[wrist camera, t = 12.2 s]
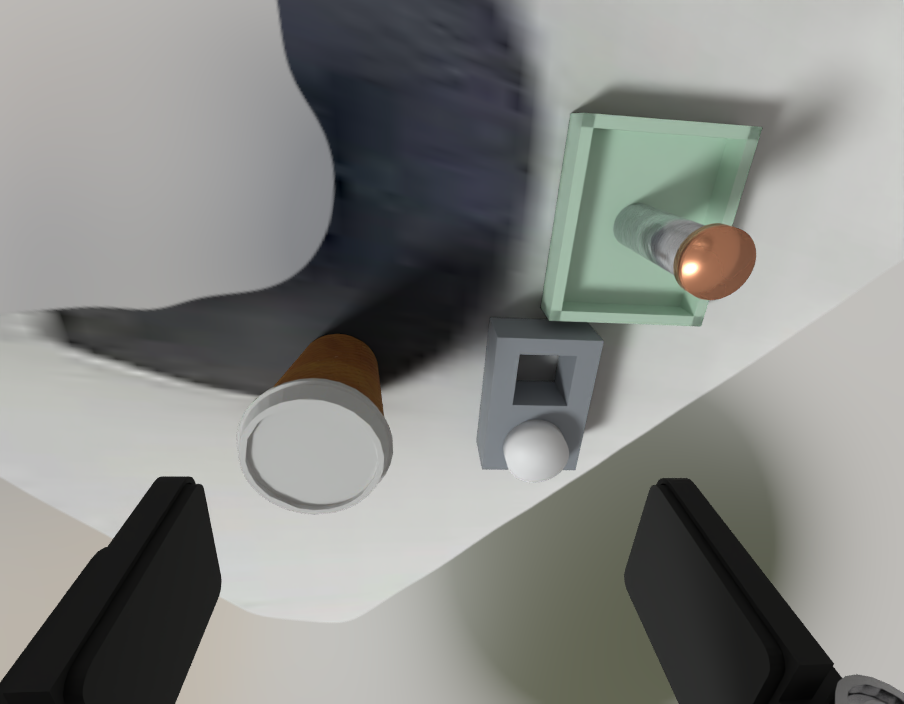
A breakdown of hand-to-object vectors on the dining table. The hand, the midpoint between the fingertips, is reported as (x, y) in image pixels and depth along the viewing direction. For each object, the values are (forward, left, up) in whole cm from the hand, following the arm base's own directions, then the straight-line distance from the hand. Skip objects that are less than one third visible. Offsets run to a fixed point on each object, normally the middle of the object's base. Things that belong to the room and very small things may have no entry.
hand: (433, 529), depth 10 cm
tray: (-2, +16, -28) cm, 33 cm away
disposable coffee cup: (+11, -6, -28) cm, 31 cm away
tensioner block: (+12, +10, -28) cm, 32 cm away
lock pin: (-2, +16, -28) cm, 32 cm away
